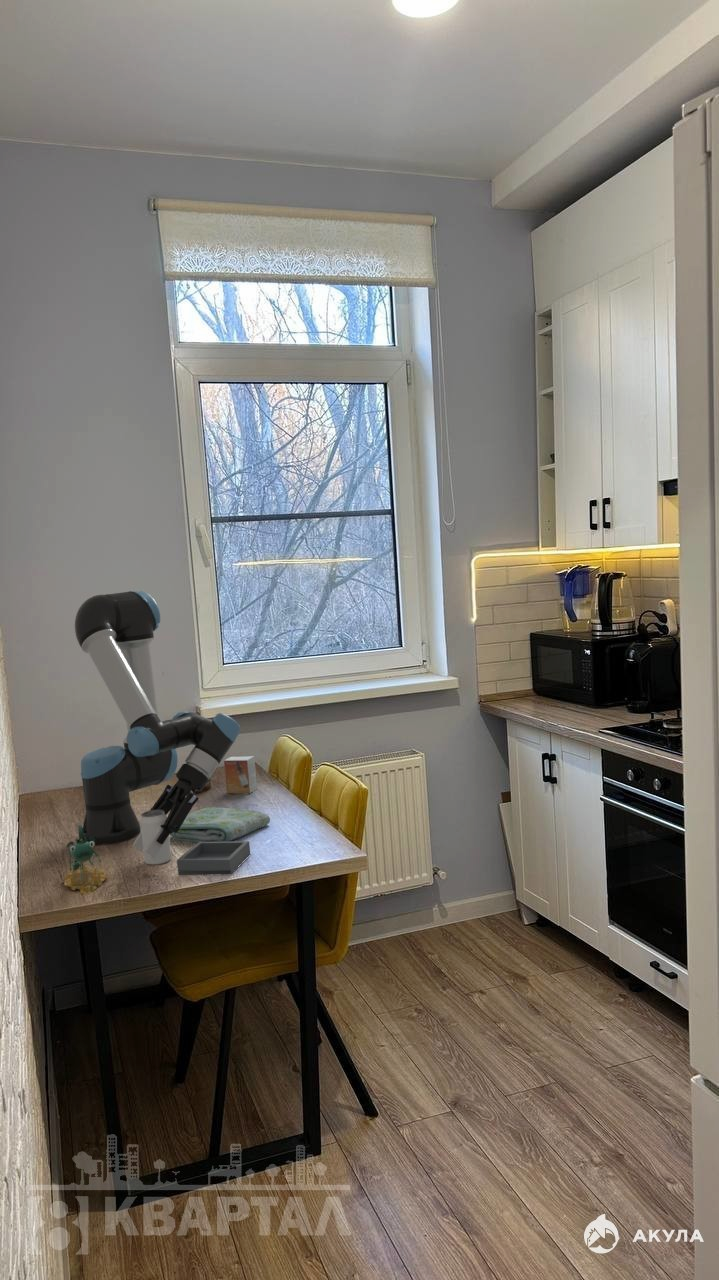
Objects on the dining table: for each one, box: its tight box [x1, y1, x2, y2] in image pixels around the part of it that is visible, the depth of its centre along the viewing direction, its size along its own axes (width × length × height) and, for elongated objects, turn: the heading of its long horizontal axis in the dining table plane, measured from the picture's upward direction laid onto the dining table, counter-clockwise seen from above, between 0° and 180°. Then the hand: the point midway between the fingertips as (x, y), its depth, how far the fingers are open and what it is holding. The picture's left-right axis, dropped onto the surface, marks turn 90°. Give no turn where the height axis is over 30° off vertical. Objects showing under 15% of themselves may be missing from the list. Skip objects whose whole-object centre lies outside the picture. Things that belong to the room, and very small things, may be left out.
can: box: [139, 809, 172, 866], centre depth 225 cm, size 6×6×12 cm
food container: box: [194, 777, 212, 795], centre depth 292 cm, size 12×6×10 cm, turn 179°
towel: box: [169, 806, 271, 843], centre depth 245 cm, size 18×21×5 cm
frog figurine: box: [63, 824, 108, 895], centre depth 214 cm, size 10×18×15 cm, turn 18°
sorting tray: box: [176, 840, 251, 876], centre depth 218 cm, size 13×13×4 cm
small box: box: [223, 755, 258, 794], centre depth 285 cm, size 8×6×10 cm
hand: (143, 851), depth 223 cm, fingers closed on can, 6 cm apart
